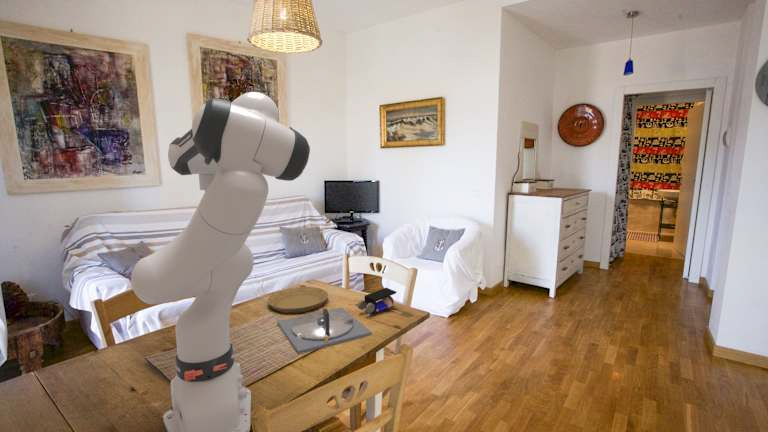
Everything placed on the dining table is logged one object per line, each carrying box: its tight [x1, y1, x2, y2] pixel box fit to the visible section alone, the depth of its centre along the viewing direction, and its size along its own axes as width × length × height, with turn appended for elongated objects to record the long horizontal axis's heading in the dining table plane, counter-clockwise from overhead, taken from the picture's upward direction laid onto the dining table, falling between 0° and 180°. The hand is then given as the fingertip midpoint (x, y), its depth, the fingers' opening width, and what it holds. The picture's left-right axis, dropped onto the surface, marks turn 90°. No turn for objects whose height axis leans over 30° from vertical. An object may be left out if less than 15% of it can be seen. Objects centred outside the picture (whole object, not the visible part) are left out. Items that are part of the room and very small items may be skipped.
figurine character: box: [357, 287, 397, 317], centre depth 144 cm, size 7×8×15 cm
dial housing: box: [276, 307, 373, 355], centre depth 129 cm, size 25×25×3 cm
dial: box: [292, 308, 353, 340], centre depth 128 cm, size 21×21×8 cm
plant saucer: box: [267, 286, 329, 314], centre depth 153 cm, size 24×24×3 cm
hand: (218, 228), depth 116 cm, fingers closed
